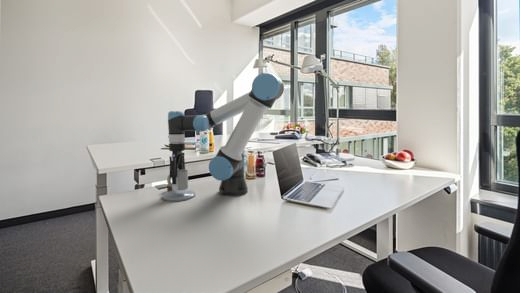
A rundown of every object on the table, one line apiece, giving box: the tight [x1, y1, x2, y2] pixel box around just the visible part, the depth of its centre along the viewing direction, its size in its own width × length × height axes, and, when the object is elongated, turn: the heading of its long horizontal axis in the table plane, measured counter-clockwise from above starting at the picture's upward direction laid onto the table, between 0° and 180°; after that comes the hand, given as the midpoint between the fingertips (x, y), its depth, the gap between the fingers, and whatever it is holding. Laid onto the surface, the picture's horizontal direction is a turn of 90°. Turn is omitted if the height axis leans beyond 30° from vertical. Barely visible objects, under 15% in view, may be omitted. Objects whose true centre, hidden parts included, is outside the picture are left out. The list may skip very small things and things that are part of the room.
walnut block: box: [166, 184, 173, 192], centre depth 151 cm, size 4×4×4 cm
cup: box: [166, 169, 189, 190], centre depth 141 cm, size 7×10×9 cm
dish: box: [161, 189, 196, 202], centre depth 143 cm, size 16×16×1 cm
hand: (178, 187), depth 142 cm, fingers closed on cup, 7 cm apart
